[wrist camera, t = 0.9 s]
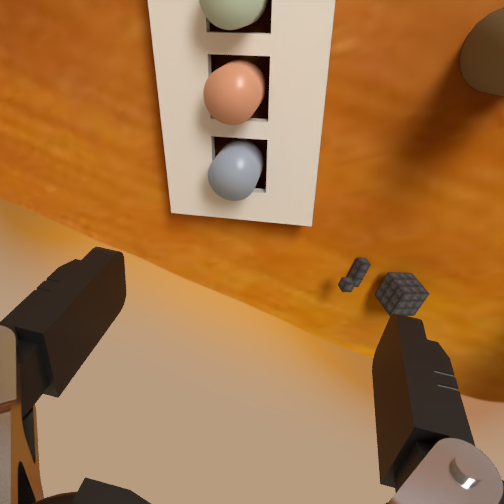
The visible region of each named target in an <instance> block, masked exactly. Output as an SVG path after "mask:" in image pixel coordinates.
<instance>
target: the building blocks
mask: <svg viewBox="0 0 504 504" xmlns="http://www.w3.org/2000/svg"><path fill="white" fill-rule="evenodd" d="M370 265H371V264H370V263H369V262H368V260H367V259H365V258H357V260H356V262H355V264H354V266H353V268H352V269H351V271H350V273H349V275H348V277H342V278H341V280H340V282H339V284H338V286H339V287H340V289H341V290H342V292H351V291H352V290H353V288H354V287H358V286H359V285H360V283H361V281H362V279H363V277H364V276H365V274H366V272H367V270H368V268H369V267H370ZM428 295H429V293H428V291H427V290H426V289H425V288H424V287H423V286H422V284H421V283H420V282H419V281H418V280H417V279H416V278H415V276H414V275H413V274H412V273H390V272H388V273H387V275H386V276H385V278H384V280H383V281H382V283H381V285H380V286H379V288H378V290H377V291H376V293H375V296H376V297H377V299H378V300H379V302H380V303H381V304H382V306H383V307H384V308H385V310H386V311H387V313H388V314H389V315H390V316H391V315H392V314H399V315H403V316H414V315H415V314H416V312H417V311H418V309H419V308H420V306H421V305H422V304H423V302H424V301H425V299H426V298H427V296H428Z"/></svg>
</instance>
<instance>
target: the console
mask: <svg viewBox="0 0 504 504" xmlns="http://www.w3.org/2000/svg"><path fill="white" fill-rule="evenodd" d="M148 8H149V17H150V26H151V35H152V44H153V53H154V62H155V71H156V80H157V89H158V98H159V107H160V116H161V125H162V134H163V143H164V152H165V161H166V170H167V179H168V188H169V197H170V206H171V213H178V214H188V215H198V216H209V217H219V218H229V219H240V220H250V221H261V222H271V223H281V224H292V225H302V226H312V219H313V210H314V201H315V191H316V181H317V172H318V162H319V153H320V143H321V134H322V124H323V115H324V105H325V96H326V86H327V76H328V67H329V57H330V48H331V38H332V29H333V19H334V10H335V0H272V13H271V33H249V32H211V31H210V21H209V20H208V19H207V17H206V16H205V14H204V13H203V11H202V9H201V6H200V3H199V0H148ZM211 54H220V55H249V56H270V76H269V108H268V119H259V118H249V119H248V120H247V121H245V122H243V123H241V124H238V125H227V124H223V123H221V122H219V121H217V120H216V119H215V118H214V117H213V116H212V115H211V114H210V113H209V111H208V110H207V108H206V105H205V102H204V96H203V91H204V86H205V83H206V80H207V79H208V77H209V76H210V75H211V74H212V70H211ZM214 136H216V137H231V138H246V139H261V140H267V171H266V189H260V188H255V189H254V191H253V192H252V193H251V194H250V195H249V196H248V197H247V198H245V199H243V200H239V201H230V200H226V199H223V198H222V197H220V196H218V195H217V194H216V193H215V192H214V191H213V189H212V188H211V186H210V184H209V181H208V169H209V166H210V164H211V163H212V161H213V160H214V159H215V143H214Z"/></svg>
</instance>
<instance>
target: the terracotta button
mask: <svg viewBox="0 0 504 504" xmlns="http://www.w3.org/2000/svg"><path fill="white" fill-rule="evenodd" d="M265 92H266V82H265V78H264V75H263V73H262V72H261V70H260V69H259V68H258V67H257V66H256V65H255V64H254V63H252V62H250V61H248V60H244V59H236V60H233V61H230V62H228V63H227V64H225V65H223V66H222V67H220V68H218V69H217V70H215V71H214V72H213V73H212V74H211V75H210V76H209V77H208V79H207V80H206V83H205V86H204V91H203V96H204V102H205V105H206V108H207V110H208V111H209V113H210V114H211V115H212V116H213V117H214V118H215V119H216V120H217V121H219V122H221V123H223V124H227V125H238V124H241V123H243V122H245V121H247V120H248V119H249V118H250V117H251V116H252V115H253V113H254V112H255V111H256V109H257V108H258V107H259V105H260V104H261V102H262V101H263V99H264V96H265Z"/></svg>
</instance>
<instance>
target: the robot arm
mask: <svg viewBox="0 0 504 504" xmlns="http://www.w3.org/2000/svg"><path fill="white" fill-rule="evenodd" d="M125 298H126V281H125V266H124V256H123V254H122V252H119V251H114V250H109V249H105V248H101V247H95V248H93V249H92V250H91V251H90V252H89V253H88V254H87V255H86V256H85V257H84V258H83V259H82V260H77V259H75V260H73V261H71V262H69V263H67V264H65V265H62V266H60V267H59V268H57V269H56V270H55V271H54V272H53V273H52V274H51V275H50V276H49V277H48V278H47V280H46V281H44V282H42V284H40V285H39V286H38V287H37V290H34V291H33V292H32V293H31V294H30V295H29V296H28V297H26V299H24V300H23V301H22V302H21V303H20V304H19V305H18V306H17V307H16V308H15V309H14V310H13V311H12V312H10V313H9V315H7V316H6V317H5V318H4V319H3V320H2V321H1V322H0V504H150V503H149V502H148V501H146V500H144V499H143V498H141V497H140V496H138V495H137V494H135V493H134V492H132V491H131V490H128V489H124V488H121V487H117V486H114V485H110V484H106V483H103V482H99V481H96V480H92V479H89V478H85V479H84V481H83V483H82V484H81V486H80V488H79V490H78V492H70V493H63V494H58V495H55V496H51V497H47V498H44V497H43V490H42V485H41V479H40V471H39V453H38V436H37V418H36V407H35V403H36V402H37V400H38V399H39V398H40V396H41V395H42V394H47V395H50V396H54V397H59V396H60V395H61V393H62V392H63V390H64V389H65V388H66V386H67V385H68V384H69V382H70V380H71V379H72V378H73V377H74V375H75V374H76V372H77V371H78V370H79V368H80V366H81V365H82V364H83V362H84V361H85V360H86V359H87V357H88V356H89V354H90V353H91V352H92V350H93V349H94V347H95V346H96V345H97V343H98V342H99V340H100V339H101V338H102V336H103V335H104V333H105V332H106V331H107V329H108V328H109V327H110V325H111V323H112V322H113V321H114V320H115V318H116V317H117V315H118V314H119V313H120V311H121V309H122V307H123V305H124V302H125ZM372 375H373V388H374V403H375V416H376V431H377V444H378V458H379V471H380V484H383V485H387V486H391V487H394V488H395V490H396V494H395V495H394V497H393V498H392V499H391V500H390V501H389V502H388V503H386V504H504V481H503V480H502V479H501V476H500V474H499V472H498V470H497V468H496V467H495V465H494V464H493V462H492V461H491V460H490V459H489V458H488V457H487V456H486V455H485V454H484V453H483V452H482V451H481V450H479V449H478V448H477V447H476V446H475V444H474V440H473V437H472V434H471V430H470V427H469V423H468V420H467V417H466V413H465V410H464V406H463V403H462V400H461V396H460V392H458V385H457V382H456V379H455V378H454V372H453V368H452V365H451V361H450V358H449V357H448V355H447V354H446V353H445V351H444V350H443V349H442V347H441V346H440V345H439V343H438V342H435V341H431V340H427V338H426V334H425V330H424V326H423V322H422V320H420V319H417V318H412V317H408V316H403V315H399V314H392V315H391V317H390V318H389V321H388V323H387V325H386V328H385V330H384V332H383V335H382V337H381V339H380V342H379V344H378V346H377V349H376V351H375V355H374V359H373V366H372Z"/></svg>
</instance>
